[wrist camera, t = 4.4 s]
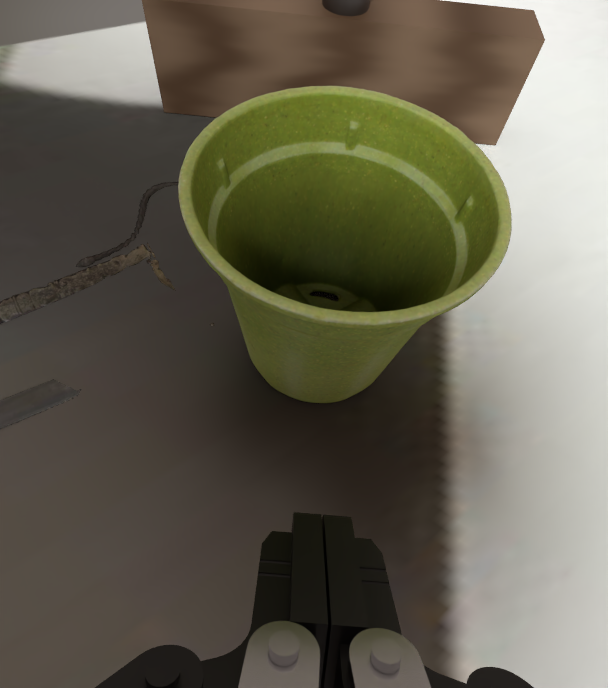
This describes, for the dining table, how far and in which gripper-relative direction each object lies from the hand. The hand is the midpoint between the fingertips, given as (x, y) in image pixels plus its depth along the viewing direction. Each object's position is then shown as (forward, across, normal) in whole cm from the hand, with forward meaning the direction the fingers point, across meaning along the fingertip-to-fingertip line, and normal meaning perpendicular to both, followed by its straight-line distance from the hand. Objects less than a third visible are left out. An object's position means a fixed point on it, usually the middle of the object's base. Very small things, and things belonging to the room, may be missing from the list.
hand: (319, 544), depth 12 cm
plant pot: (+10, 0, +3) cm, 10 cm away
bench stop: (+21, 0, +15) cm, 26 cm away
